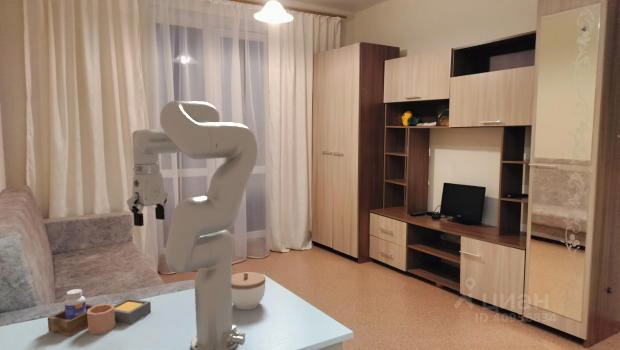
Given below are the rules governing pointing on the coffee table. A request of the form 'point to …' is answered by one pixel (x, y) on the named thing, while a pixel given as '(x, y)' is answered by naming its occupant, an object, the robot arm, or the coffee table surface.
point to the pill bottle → (74, 304)
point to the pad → (128, 306)
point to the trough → (68, 323)
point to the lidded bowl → (247, 289)
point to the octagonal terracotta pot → (101, 318)
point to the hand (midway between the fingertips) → (149, 222)
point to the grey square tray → (132, 312)
